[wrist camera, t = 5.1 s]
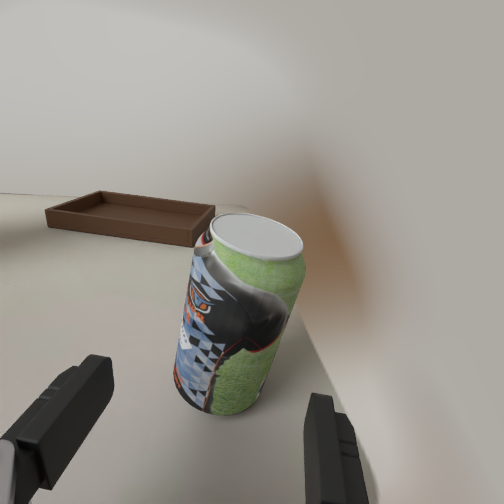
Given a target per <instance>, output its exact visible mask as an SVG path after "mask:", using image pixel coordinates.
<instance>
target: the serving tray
mask: <svg viewBox="0 0 504 504" xmlns="http://www.w3.org/2000/svg"><path fill="white" fill-rule="evenodd" d="M45 214H46V220H47V225H48V227H52V228H59V229H66V230H73V231H80V232H87V233H94V234H101V235H108V236H115V237H122V238H130V239H137V240H144V241H151V242H158V243H165V244H172V245H179V246H186V247H193V246H194V244H195V243H196V242H197V240H198V238H199V237H200V236H201V235H202V234H203V233H204V232H205V231H206V230H207V228H208V227H209V226H210V223H211V221H212V219H213V218H215V206H214V205H207V204H199V203H191V202H184V201H176V200H168V199H160V198H153V197H145V196H138V195H130V194H122V193H115V192H107V191H97V192H94V193H92V194H88V195H85V196H83V197H80V198H77V199H74V200H71V201H68V202H65V203H62V204H59V205H57V206H54V207H51V208H48V209H45Z"/></svg>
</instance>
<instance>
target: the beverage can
mask: <svg viewBox="0 0 504 504" xmlns="http://www.w3.org/2000/svg"><path fill="white" fill-rule="evenodd" d="M302 250H303V242H302V240H301V238H300V237H299V236H298V235H297V234H296V233H295V232H294V231H293V230H291V229H290V228H288V227H286V226H285V225H283V224H281V223H279V222H277V221H274V220H271V219H269V218H266V217H262V216H258V215H254V214H248V213H225V214H221V215H218V216H216V217H215V218H213V219H212V221H211V223H210V227H209V228H208V229H207V230H206V231H205V232H204V233H203V234H202V235H201V236H200V237H199V238H198V240H197V242H196V244H195V248H194V254H193V260H192V265H191V271H190V277H189V283H188V289H187V295H186V301H185V306H184V312H183V318H182V324H181V330H180V336H179V341H178V347H177V353H176V359H175V365H174V372H173V374H174V381H175V385H176V388H177V389H178V391H179V393H180V395H181V396H182V397H183V398H184V399H185V401H187V402H188V403H189V404H190V405H191V406H193V407H195V408H196V409H198V410H200V411H203V412H205V413H208V414H213V415H231V414H235V413H238V412H241V411H243V410H245V409H247V408H248V407H250V406H251V405H252V404H253V403H254V402H255V401H256V399H257V398H258V396H259V394H260V392H261V390H262V387H263V385H264V382H265V379H266V377H267V374H268V372H269V369H270V366H271V364H272V361H273V358H274V356H275V353H276V351H277V348H278V345H279V343H280V340H281V337H282V335H283V332H284V330H285V327H286V324H287V322H288V319H289V316H290V314H291V311H292V309H293V306H294V303H295V301H296V298H297V295H298V292H299V290H300V288H301V285H302V282H303V280H304V277H305V270H306V267H305V263H304V258H303V255H302Z"/></svg>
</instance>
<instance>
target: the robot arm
mask: <svg viewBox="0 0 504 504" xmlns="http://www.w3.org/2000/svg"><path fill="white" fill-rule="evenodd" d="M113 391H114V377H113V368H112V360H111V358H110V357H104V356H99V355H93V354H91V355H89V356H87V357H86V359H85V360H84V361H83V362H82V363H81V364H80V365H79V367H77V366H72V367H71V368H69V369H67V370H66V371H64V372H63V373H61V374H60V375H58V376H57V378H56V379H55V380H54V381H53V382H52V383H51V384H50V385H49V386H48V389H45V391H44V392H43V393H42V394H41V395H40V396H39V398H37V399H36V400H35V401H34V402H33V403H32V405H31V406H30V407H29V408H28V409H27V410H26V411H25V412H24V413H23V414H22V415H21V416H20V418H19V419H18V420H17V421H16V422H15V423H14V424H13V425H12V426H11V427H10V428H9V429H8V430H7V432H6V433H5V434H4V435H3V436H2V437H1V438H0V504H32V502H31V498H32V497H33V496H34V494H35V493H36V491H37V490H38V488H42V489H47V490H52V488H53V487H54V485H55V484H56V482H57V481H58V479H59V478H60V476H61V475H62V473H63V472H64V470H65V469H66V467H67V466H68V464H69V463H70V461H71V459H72V458H73V456H74V455H75V453H76V452H77V450H78V449H79V447H80V446H81V444H82V443H83V441H84V440H85V438H86V437H87V435H88V434H89V432H90V431H91V429H92V427H93V426H94V424H95V423H96V421H97V420H98V418H99V417H100V415H101V414H102V412H103V411H104V409H105V408H106V406H107V405H108V403H109V401H110V400H111V397H112V395H113ZM304 466H305V494H306V504H369V501H368V496H367V491H366V486H365V481H364V476H363V471H362V466H361V462H360V459H359V452H358V447H357V442H356V437H355V432H354V428H353V426H352V424H351V423H350V421H349V419H348V417H347V416H346V414H343V413H337V412H335V410H334V404H333V398H332V396H329V395H323V394H317V393H312V394H311V397H310V401H309V405H308V409H307V413H306V417H305V422H304Z"/></svg>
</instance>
